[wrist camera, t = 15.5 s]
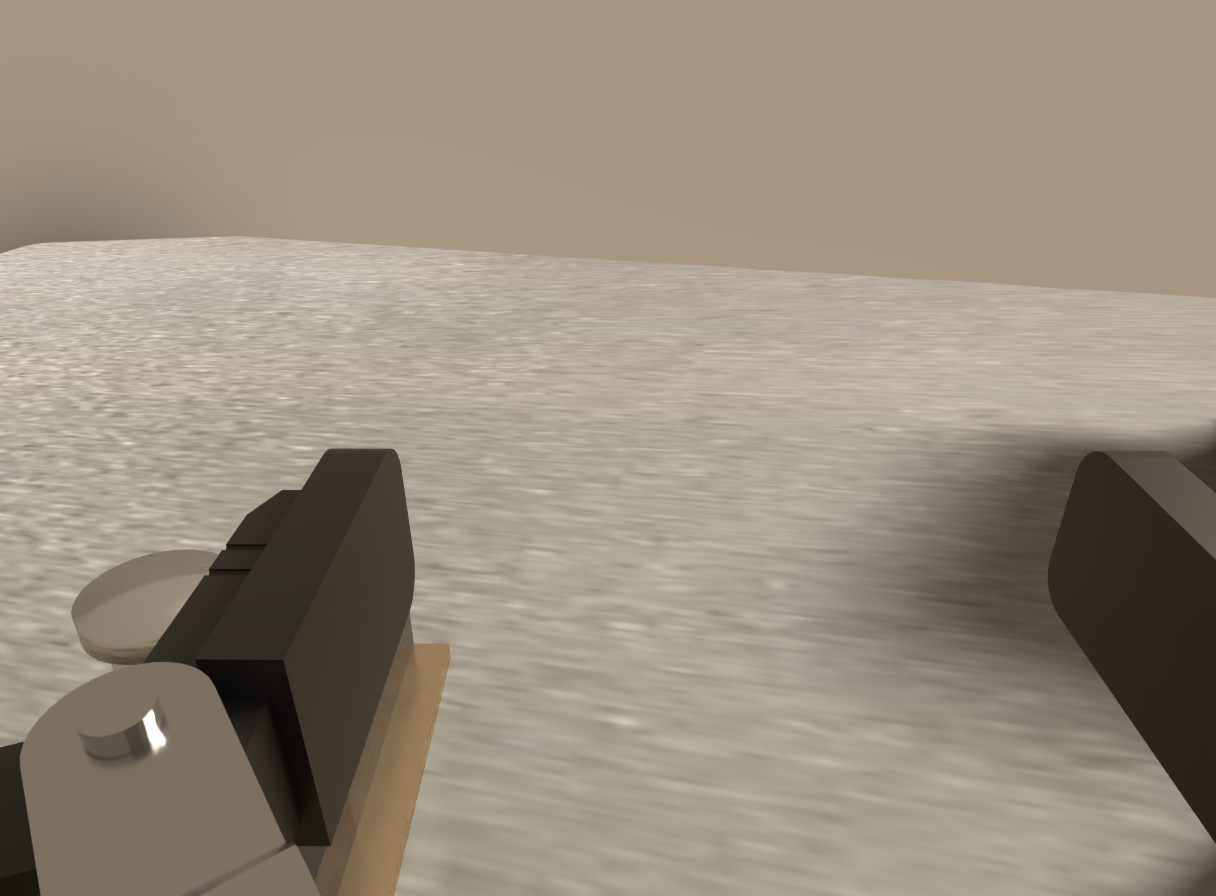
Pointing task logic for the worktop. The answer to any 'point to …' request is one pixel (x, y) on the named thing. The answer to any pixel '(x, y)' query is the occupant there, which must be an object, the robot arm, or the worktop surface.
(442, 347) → the worktop surface
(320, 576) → the robot arm
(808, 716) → the worktop surface
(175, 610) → the steel pin
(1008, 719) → the worktop surface
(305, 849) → the pin socket base plate
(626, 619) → the worktop surface
